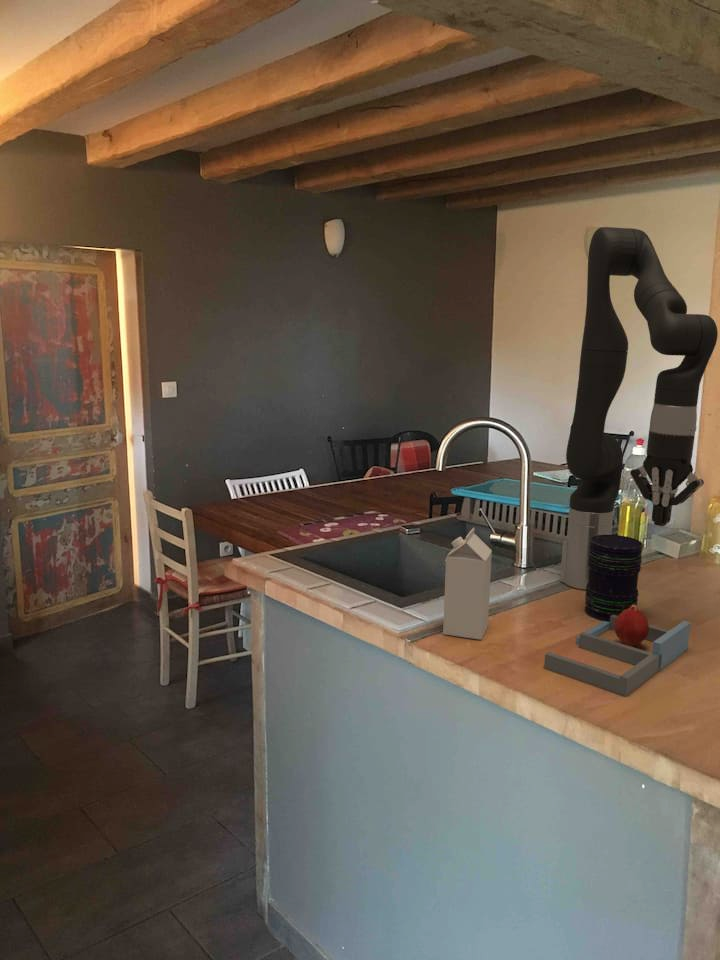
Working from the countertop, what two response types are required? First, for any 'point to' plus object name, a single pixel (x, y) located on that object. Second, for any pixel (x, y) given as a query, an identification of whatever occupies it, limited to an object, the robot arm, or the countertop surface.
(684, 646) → the channel organiser
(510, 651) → the countertop surface
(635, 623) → the pomegranate
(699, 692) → the countertop surface
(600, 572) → the storage jar
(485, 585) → the milk carton
